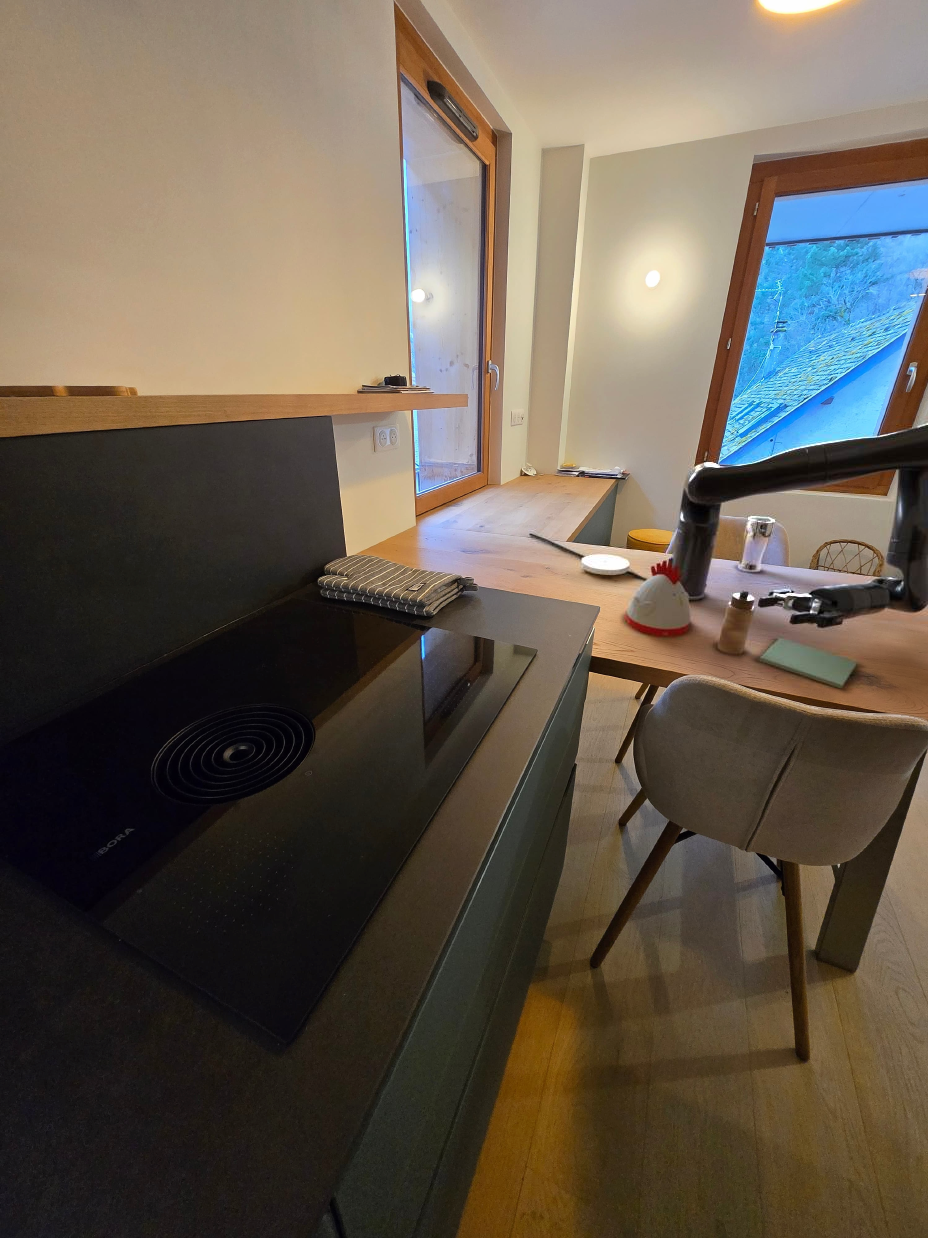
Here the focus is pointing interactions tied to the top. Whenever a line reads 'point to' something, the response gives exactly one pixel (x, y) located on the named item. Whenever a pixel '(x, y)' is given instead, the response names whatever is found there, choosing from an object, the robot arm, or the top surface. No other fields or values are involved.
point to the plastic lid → (605, 564)
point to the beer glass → (755, 543)
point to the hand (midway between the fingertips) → (775, 610)
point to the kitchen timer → (660, 603)
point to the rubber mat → (809, 662)
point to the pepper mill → (736, 623)
